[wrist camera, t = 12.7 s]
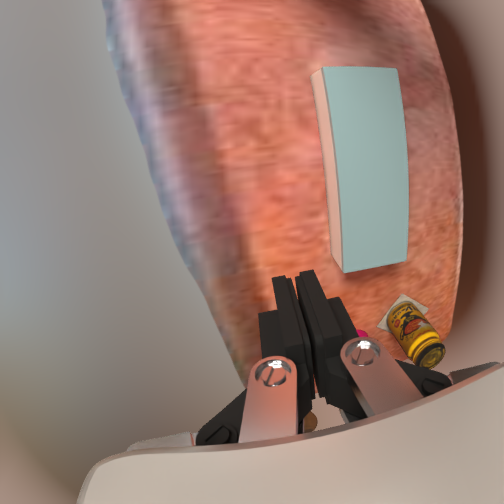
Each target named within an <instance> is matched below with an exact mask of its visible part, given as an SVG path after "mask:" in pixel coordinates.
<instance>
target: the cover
mask: <svg viewBox="0 0 504 504" xmlns="http://www.w3.org/2000/svg"><path fill="white" fill-rule="evenodd" d="M321 72H322V77H323V83H324V88H325V94H326V101H327V107H328V114H329V120H330V128H331V135H332V143H333V151H334V160H335V170H336V180H337V191H338V204H339V218H340V236H341V261H342V272H343V273H349V272H354V271H359V270H364V269H369V268H374V267H379V266H384V265H389V264H394V263H399V262H404V261H406V259H407V244H408V221H409V179H408V156H407V141H406V130H405V120H404V111H403V104H402V96H401V90H400V83H399V78H398V72H397V68H382V67H352V66H341V67H322V68H321Z"/></svg>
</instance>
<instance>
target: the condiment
mask: <svg viewBox="0 0 504 504" xmlns="http://www.w3.org/2000/svg"><path fill="white" fill-rule="evenodd" d="M428 309H429V308H427V307H425V306H423V305H421V304H420V303H418V302H416V301H415V300H413V299H411V298H409V297H407V296H406V295H404V294H401V295H400V297H399V298H398V299H397V300H396V302H395V303H394V304H393V306H392V307H391V308H390V309H389V311H388V312H387V313H386V315H385V316H384V317H383V319H382V320H381V322H380V323H379V324H378V325H377V326H376V327H378V328H381V329H383V330H386V331H388V332H390V333H393V335H394V336H395V338H396V339H397V341H398V342H399V344H400V346H401V347H402V349H403V350H404V352H405V354H406V355H407V357H408V358H409V359H410V360H411V361H413V363H414V364H415V365H416V366H419V367H423V368H426V369H432V368H434V367H435V366H436V365H437V364H438V363H439V362H440V361H441V360H442V359H443V357H444V355H445V347H444V345H443V344H442V342H441V341H440V340H439V335H438V333H437V332H436V330H435V329H434V328H433V327H432V326H431V324H430V323H429V322H428V320H427V319H426V318H425V317H424V314H425V313H426V312H427V311H428Z"/></svg>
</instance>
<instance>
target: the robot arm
mask: <svg viewBox="0 0 504 504" xmlns="http://www.w3.org/2000/svg"><path fill="white" fill-rule="evenodd" d="M295 281H296V288H297V295H298V299H297V296H296V292H295V289H294V286H293V283H292V279H291V278H287V279H286V277H285V275H283V276H278V277H273V278H272V283H273V288H274V293H275V298H276V304H277V309H278V310H273V311H267V312H262V313H258V317H259V328H260V339H261V350H262V360H260V361H259V362H257V363H256V364H255V365H254V366H253V367H252V369H251V372H250V375H249V381H248V388H246V389H245V390H244V391H243V392H242V393H241V394H240V395H239V396H238V397H236V398H235V399H234V400H233V401H232V402H231V403H230V404H229V405H227V406H226V408H224V409H223V410H222V411H221V412H219V413H218V414H217V415H216V416H215V417H214V418H212V419H211V420H210V421H209V422H208V423H206V425H204V426H203V427H202V428H201V429H200V431H198V432H197V433H193V434H191V433H190V432H185V433H180V434H175V435H171V436H166V437H161V438H156V439H151V440H144V441H139V442H136V443H134V444H132V445H131V446H130V447H129V448H128V449H127V451H126V452H124V453H120V454H116V455H113V456H110V457H108V458H106V459H103V460H102V461H100V462H98V463H97V464H95V466H94V467H93V468H92V469H91V470H90V472H89V473H88V475H87V477H86V479H85V481H84V484H83V486H82V488H81V491H80V494H79V497H78V500H77V504H504V362H502V363H498V362H489V363H486V364H482V365H478V366H474V367H470V368H466V369H461V370H457V371H452V372H450V373H449V375H444V374H442V373H440V372H436V371H433V370H430V369H426V368H423V367H419V366H416V365H413V364H409V363H406V362H403V361H399V360H396V359H394V358H393V357H392V356H391V354H390V353H389V352H388V351H387V349H386V348H385V347H384V346H383V344H382V343H380V342H379V341H378V340H376V339H374V338H370V337H359V335H358V333H357V331H356V329H355V327H354V325H353V323H352V321H351V319H350V317H349V315H348V313H347V311H346V309H345V307H344V305H343V303H342V301H341V299H340V298H339V297H335V298H330V299H326V296H325V294H324V292H323V290H322V288H321V285H320V283H319V281H318V279H317V277H316V274H315V272H314V270H308V271H303V272H300V276H297V277H295ZM313 374H314V376H313ZM314 378H315V382H316V386H317V389H318V393H319V397H320V398H322V397H325V399H326V402H327V404H331V405H333V406H335V407H338V408H339V411H340V414H341V416H342V418H343V420H344V422H345V424H344V425H340V426H336V427H332V428H328V429H323V430H318V431H314V432H309V433H304V418H305V416H306V415H307V414H308V413H309V412H310V411H311V409H312V399H315V387H314Z"/></svg>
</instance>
